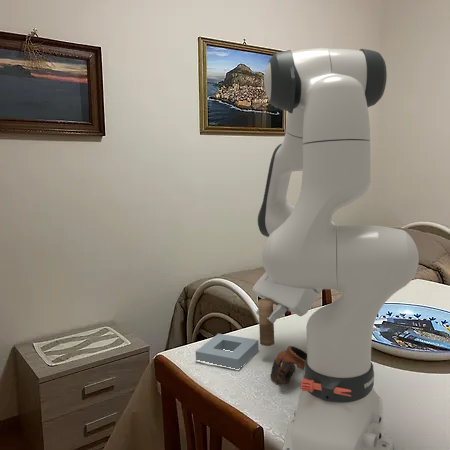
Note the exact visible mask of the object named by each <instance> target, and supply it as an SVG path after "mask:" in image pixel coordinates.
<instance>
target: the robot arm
mask: <svg viewBox="0 0 450 450" xmlns="http://www.w3.org/2000/svg"><path fill="white" fill-rule="evenodd" d="M387 78H388V74H387V65H386V61H385V59H384V57H383V56H382V54H381V53H380V52H378V51H375V50H372V49H366V48H360V49H347V48H327V47H315V48H313V47H312V48H305V49H299V50H298V49H297V50H293V51H292V50H291V49H287V50H283V51H278V52H276V53H274V54H272V56H271V57H270V58H269V60H268V63H267V66H266V69H265V71H264V77H263V86H264V90H265V95H266V97H267V99H268V102H269V103H270V105H272V106H273V107H274V108H275V109H278V110H281V111H286V112H287V113H286V119H285V120H286V121H285V122H286V123H285V133H284V139H283V141H282V143H280V144H278V145H277V146H276V147H275V148H274V151H273V153H272V156H271V159H270V163H269V166H268V173H267V178H266V182H265V183H266V184H265V189H264V194H263V199H262V203H261V207H260V210H259V211H258V214H257V225H258V229H259V232H260V234H261V235H263V236H264V237H266V238H267V239H266V240H265V242H264V245H263V247H262V252H261V260H262V265H263V268H264V269H263V270H265V272H264V273H263V275H262V276H260V278H259V279H258V280H257V281H256V282H255V284H254V285H253V287H252V292H253V293H254V294H255V295H256V296H257V297H259V298H261V299H271V300H273V305H276V309H275V310H273V312H272V313H269V314H268V316H267V320H268V321H270V322H271V323H274V324H275V322H276V321H277V319H279V318H280V317H282V316H283V315H285V314H286V312H287V311H288V312H290V313H293V314H294V315H297V316H298V317H303V316H305V315H307V313H308V312H309V310H310V309H311V308H312V306H313V304H314V303H315V302H316V300H317V297H318V294H320V293H322V292H323V290H337V291H341V292H342V293H341V295H340V296H339V297H338V298H337V300H335V301H333V302H331V303H329V304H326V305H323V306H322V307H320V308H319V309H317V310H315V311H314V312H313V313H312V314H311V315H310V316H309V318H308V320H307V323H306V330H305V331H306V353H307V359H306V361H305V367H304V370H303V378H302V380H301V383H300V392H299V396H298V402H297V406H296V410H295V411H294V414H293V415H292V417H290V420H289V423H288V426H287V430H286V435H285V438H284V442H283V446H282V449H281V450H394V448H395V445H394V440H393V439H392V438H391V437H390V436H388V435H387V434H385V430H384V428H385V427H384V408H383V407H384V404H383V399H382V398H381V397H380V395H378V393H377V391H376V390H375V388H374V385H375V384H374V383H375V382H374V381H375V371H374V365H373V362H372V342H373V341H372V340H373V332H374V326H375V322H376V319H377V317H378V314H379V312H380V310H381V309H382V308H383V306H384V305H385V304H386V302H387V301H388V300H389V299H390V298H391V297H392V296H394V294H396V293H397V292H398V291H399V290H401V289H403V288H405V287H407V286H408V285H409V283H411V281H412V280H413V279H414V277H415V275H416V273H417V271H418V267H419V263H420V262H419V261H420V259H419V258H420V257H419V251H418V247H417V245H416V244H417V243H415V241H414V239H413V238H412V236H411V235H410V234H409V233H408V232H407V231H405V230H404V229H400V228H395V227H389V226H384V225H378V224H377V225H376V224H373V225H372V224H370V225H369V224H367V225H366V224H365V225H363V224H362V225H357V224H356V225H355V224H354V225H337V224H336V223H335V222H334V221H333V220H332V219H333V218H332V217H333V216H334V214H335V213H336V212H337V211H338V210H339V209H341V208H344V207H345V206H348V205H350V204H352V203H353V202H355V201H358V200H359V199H361V198H362V197H363V196H364V195H365V194H366V193H367V192H368V190H369V188H370V185H371V182H372V181H371V177H372V176H371V125H370V116H369V110H368V109H369V108H370V107H373V106H375V105H376V104H377V103H378V102H379V101H380V100H381V99H382V97H383V96H384V93H385V89H386V85H387V80H388V79H387ZM293 172H302V173H301V174H302V175H301V176H302V177H301V186H300V192H299V196H298V199H297V202H296V204H295V205H292V204H291V203H290V202H289V201H288V199H287V193H288V190H289V184H290V180H291V175H292V173H293ZM255 313H256V315H257V316H259V307H258V308H257V309H256V311H255Z"/></svg>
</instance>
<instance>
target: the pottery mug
mask: <svg viewBox="0 0 450 450" xmlns="http://www.w3.org/2000/svg"><path fill="white" fill-rule="evenodd" d="M306 359H307V352H305V351H304V350H303V349H301V348H299V347H296V346H293V345H289V346H288V347H287V348H286V350H283V351H281V352H279V353H278V354H277V356H276V357H275V358H274V362H273V364H272V367H271V370H270V371H271V372H270V376H269V377H270V379H271V380H272V382H273V383H274V382H275V383H278V384H279V383H281V385H285V386H287V385H290V382H291V379H292V377H293V375H294V374H295V372H296V367H297V369H298V368H300V369H301V370H303V371H304V367H305V361H306ZM275 383H274V384H275Z"/></svg>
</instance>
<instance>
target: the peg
mask: <svg viewBox="0 0 450 450" xmlns="http://www.w3.org/2000/svg"><path fill="white" fill-rule="evenodd" d="M257 303H258V308H259V315H258V322H259V323H258V326H259V327H258V328H259V344H260V345H261V346H264V347H270V346H274V345H275V325H274V324H275V322H274V323H271V322H270V321H268V320H267V316H268V314H269V313H272V312H274V304H273V300H271V299H262V298H261V299H259V300H258V302H257Z"/></svg>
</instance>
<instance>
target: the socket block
mask: <svg viewBox="0 0 450 450" xmlns="http://www.w3.org/2000/svg"><path fill="white" fill-rule="evenodd" d="M223 349H225V350H230V351H233V352H230V351H225V350H223ZM259 349H260V347H259V339H255V338H248V337H242V336H235V335H229V334H224V333H223V334H222V333H217V334H216V335H215V336H213V337H212V338H211V339H209V340H208V341H207V342H205V343H204V344H203V345H202V346H201V347H198V349H197V350H196V351H195V361H196V360H200V361H205V362H209V363H213V364H217V365H222V366H226V367H231V368H235V369H239V368H241V366H243V365H244V364H245V363H246V362H247V361H248V360H249V359H250V358H251V357H252V358H253V357H254V356H255V355H256V354H257V353H259V351H260V350H259ZM252 358H251V359H252ZM251 359H250V360H251ZM250 360H249V361H250ZM249 361H248V362H249ZM248 362H247V363H248ZM247 363H246V364H247ZM246 364H245V365H246ZM245 365H244V366H245ZM244 366H243V367H244ZM241 369H242V368H241Z"/></svg>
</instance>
